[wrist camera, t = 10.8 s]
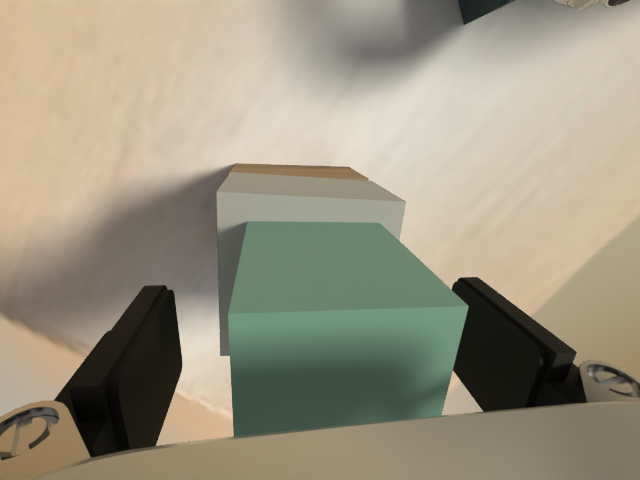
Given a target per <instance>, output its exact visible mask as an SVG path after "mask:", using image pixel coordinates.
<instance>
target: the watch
mask: <svg viewBox="0 0 640 480" xmlns="http://www.w3.org/2000/svg"><path fill="white" fill-rule="evenodd" d="M458 1H459V5H460V10H461V14H462V18H463V22H464V25H465V24H467V23H469V22H471V21H473V20H475V19H477V18H479V17H482V16H484V15H486V14H488V13H490V12H492V11H494V10H497V9H499V8H501V7H503V6H505V5H507V4H509V3H511V2H513V1H515V0H458ZM555 1H556V2H558V3H560V4H563V5H568V6H570V7H574V8H577V9H579V10H582V9H585V8H588V7H590V6H592V5H594V4H596V3H598V2H600V1H601V2H602V3H603V4H604V6H605V7H607V8H610V7H615V6H618V5H620V4H623V3H625V2H627V1H629V0H555Z"/></svg>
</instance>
